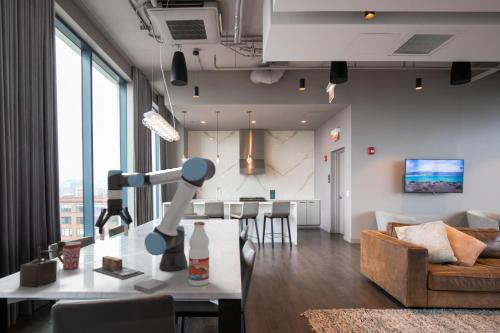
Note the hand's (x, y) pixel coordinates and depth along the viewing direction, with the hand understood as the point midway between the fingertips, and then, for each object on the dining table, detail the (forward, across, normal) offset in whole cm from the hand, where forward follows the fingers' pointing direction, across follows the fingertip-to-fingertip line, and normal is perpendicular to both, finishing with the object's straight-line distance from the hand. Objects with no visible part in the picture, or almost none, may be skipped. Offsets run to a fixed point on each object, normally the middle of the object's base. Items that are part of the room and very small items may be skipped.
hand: (114, 238), depth 157 cm
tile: (+17, +5, +33) cm, 37 cm away
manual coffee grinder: (+17, +28, -12) cm, 35 cm away
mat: (+17, 0, +4) cm, 18 cm away
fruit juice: (+18, -11, +52) cm, 56 cm away
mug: (+17, +11, -26) cm, 33 cm away
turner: (+17, 0, +3) cm, 17 cm away
